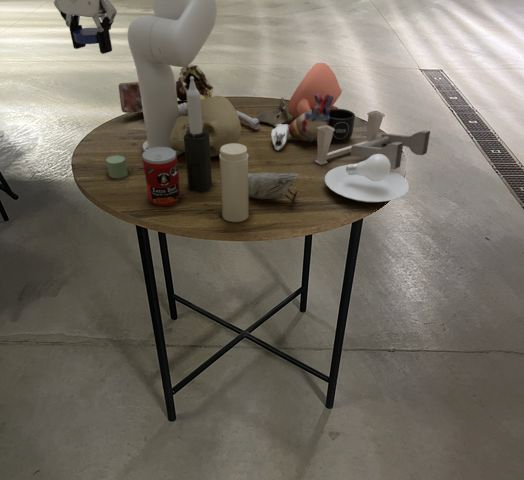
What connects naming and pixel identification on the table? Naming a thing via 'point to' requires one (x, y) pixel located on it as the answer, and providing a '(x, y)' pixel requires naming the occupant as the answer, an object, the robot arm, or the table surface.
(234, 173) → the jar
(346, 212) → the table surface
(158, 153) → the canned food
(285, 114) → the pottery fragment
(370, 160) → the lightbulb
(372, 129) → the toilet paper hanger
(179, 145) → the skull
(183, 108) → the light bulb
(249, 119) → the bone
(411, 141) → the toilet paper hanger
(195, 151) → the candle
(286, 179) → the decorative bird
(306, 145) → the accessory
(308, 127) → the anatomical model
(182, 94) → the bear figurine
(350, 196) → the plate
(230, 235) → the table surface
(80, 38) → the lid
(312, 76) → the pink curved piece
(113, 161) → the stand
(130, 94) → the decorative box
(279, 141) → the bird figurine
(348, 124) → the mug
